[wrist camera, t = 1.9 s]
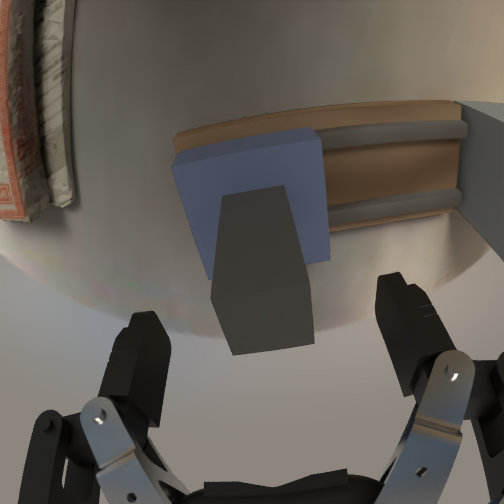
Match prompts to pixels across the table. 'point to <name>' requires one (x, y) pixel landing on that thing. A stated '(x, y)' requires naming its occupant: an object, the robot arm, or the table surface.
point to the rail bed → (369, 155)
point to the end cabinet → (483, 171)
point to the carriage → (258, 232)
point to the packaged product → (35, 107)
